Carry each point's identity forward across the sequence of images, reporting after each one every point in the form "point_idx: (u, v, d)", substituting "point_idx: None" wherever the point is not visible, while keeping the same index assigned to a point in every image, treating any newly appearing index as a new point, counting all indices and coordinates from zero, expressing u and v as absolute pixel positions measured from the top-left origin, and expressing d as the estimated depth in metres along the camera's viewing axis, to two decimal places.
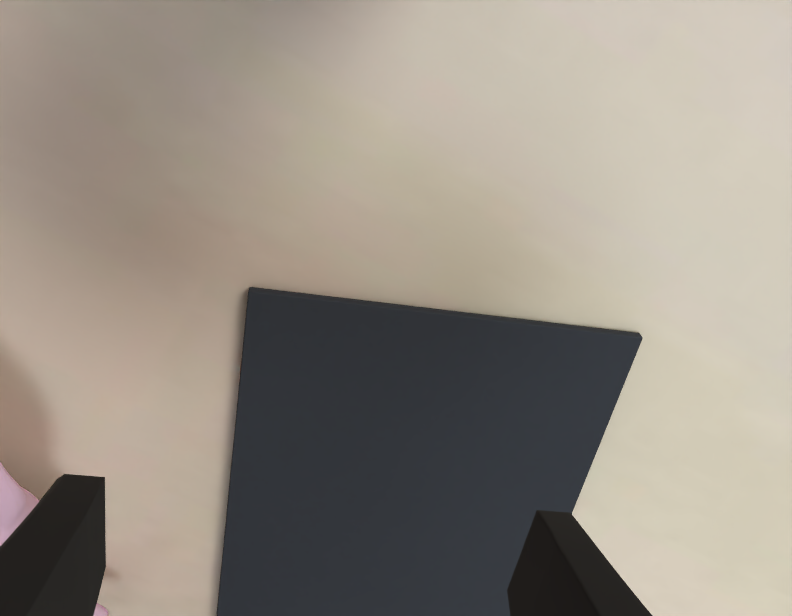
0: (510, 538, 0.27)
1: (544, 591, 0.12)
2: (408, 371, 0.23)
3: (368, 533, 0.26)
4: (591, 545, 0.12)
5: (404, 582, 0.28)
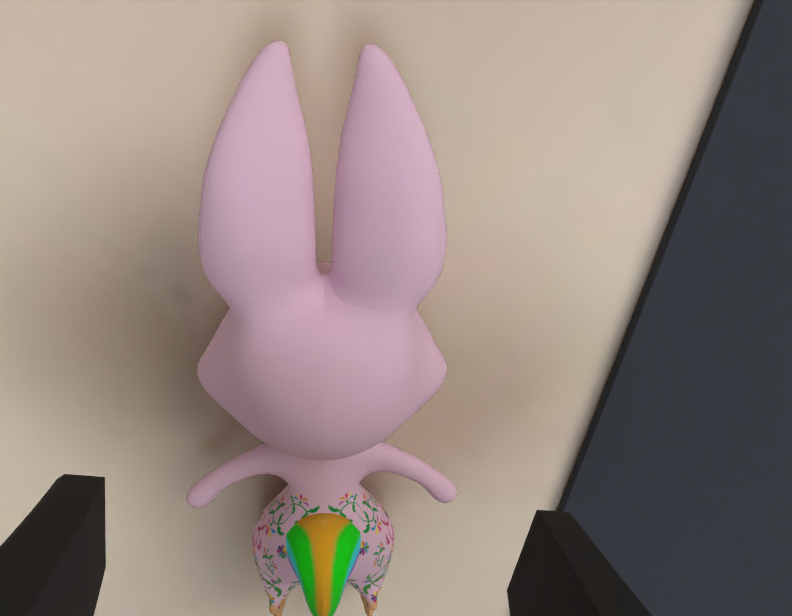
0: None
1: (544, 591, 0.12)
2: None
3: None
4: (590, 545, 0.12)
5: None
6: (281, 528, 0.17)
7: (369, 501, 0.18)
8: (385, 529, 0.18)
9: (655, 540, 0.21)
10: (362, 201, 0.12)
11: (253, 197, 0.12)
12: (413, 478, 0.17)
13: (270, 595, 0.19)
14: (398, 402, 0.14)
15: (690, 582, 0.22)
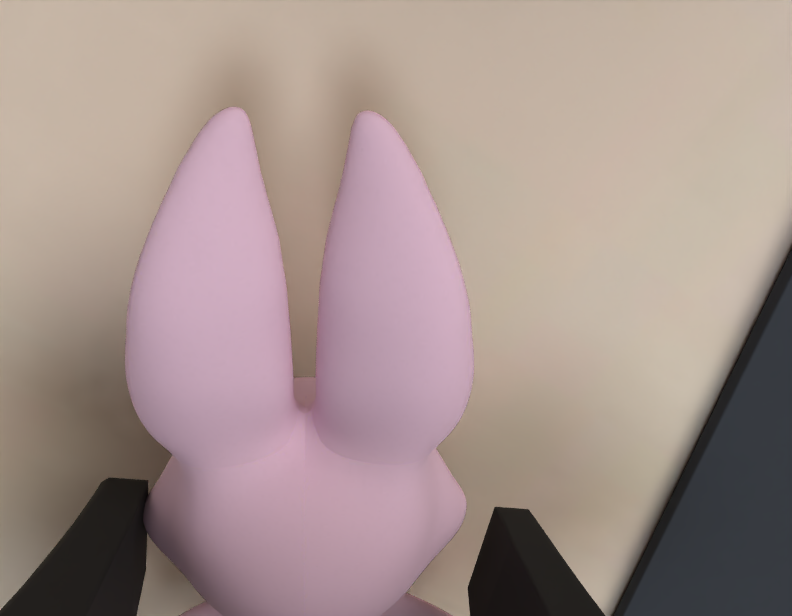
0: None
1: (499, 589, 0.12)
2: None
3: None
4: (546, 542, 0.12)
5: None
6: None
7: None
8: None
9: None
10: (357, 329, 0.08)
11: (200, 329, 0.08)
12: None
13: None
14: (404, 573, 0.10)
15: None
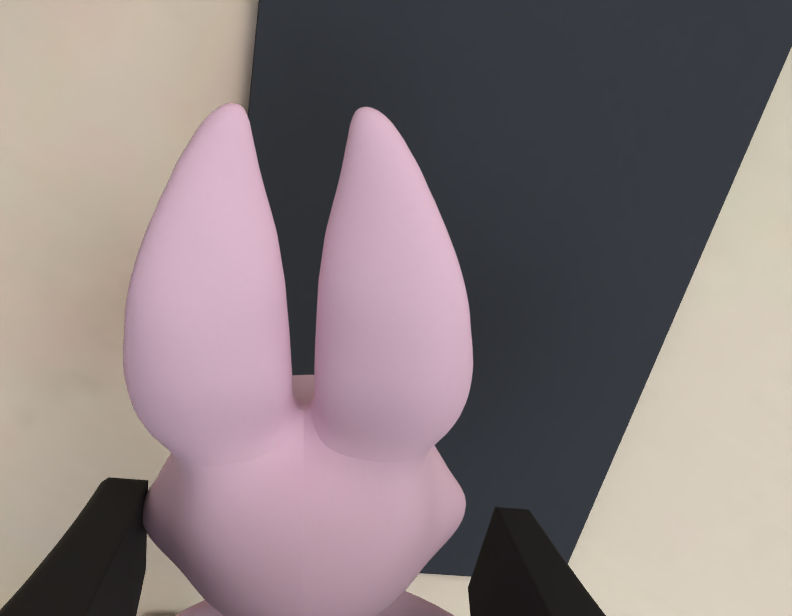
0: (613, 299, 0.20)
1: (500, 588, 0.12)
2: (498, 0, 0.16)
3: None
4: (546, 542, 0.12)
5: None
6: None
7: None
8: None
9: None
10: (355, 327, 0.08)
11: (198, 326, 0.08)
12: None
13: None
14: (403, 571, 0.10)
15: None
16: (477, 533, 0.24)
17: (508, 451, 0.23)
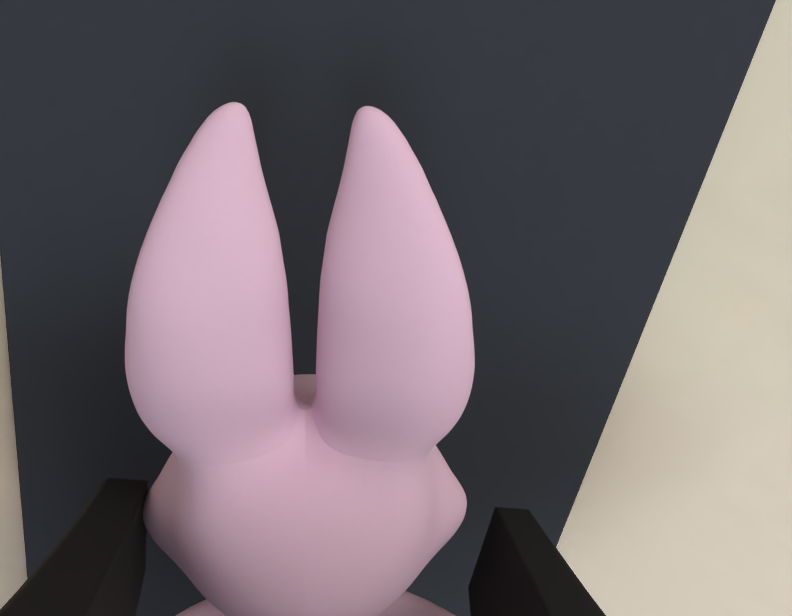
0: (527, 394, 0.16)
1: (500, 588, 0.12)
2: (328, 5, 0.11)
3: None
4: (546, 542, 0.12)
5: None
6: None
7: None
8: None
9: (165, 571, 0.17)
10: (357, 326, 0.08)
11: (200, 325, 0.08)
12: None
13: None
14: (405, 571, 0.10)
15: None
16: None
17: None
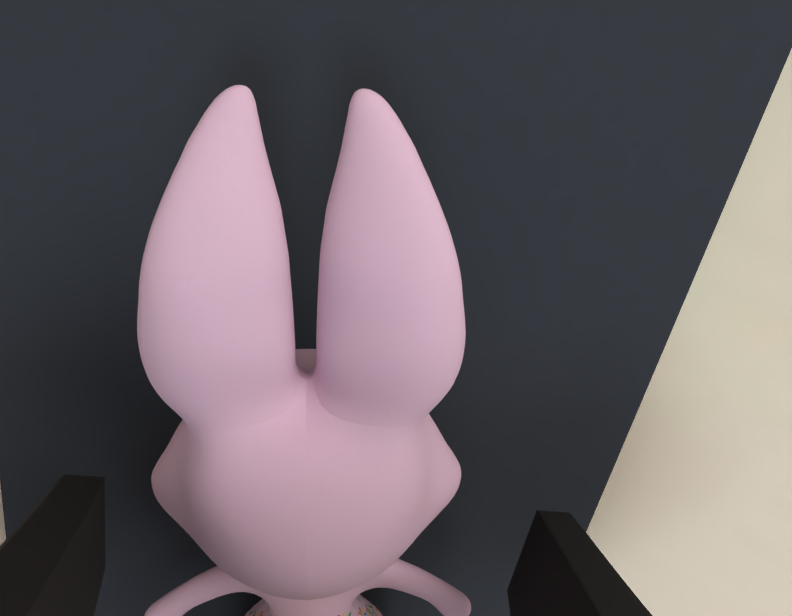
0: (539, 421, 0.15)
1: (544, 591, 0.12)
2: (328, 14, 0.11)
3: None
4: (591, 545, 0.12)
5: None
6: None
7: None
8: None
9: None
10: (354, 295, 0.09)
11: (207, 294, 0.09)
12: (419, 596, 0.14)
13: None
14: (400, 533, 0.11)
15: None
16: None
17: (411, 606, 0.17)
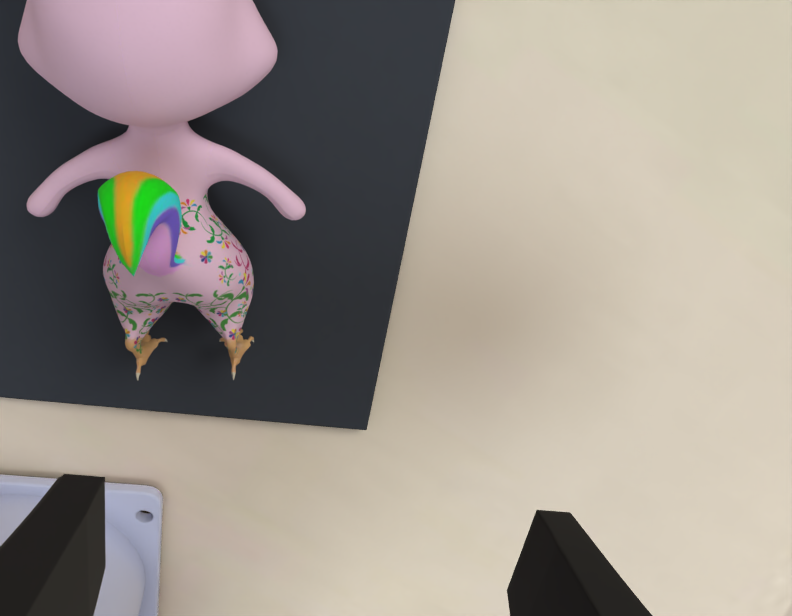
0: (362, 52, 0.18)
1: (544, 591, 0.12)
2: None
3: None
4: (591, 545, 0.12)
5: None
6: None
7: (220, 224, 0.18)
8: (235, 251, 0.18)
9: (52, 241, 0.19)
10: None
11: None
12: (256, 186, 0.17)
13: (125, 329, 0.19)
14: (204, 42, 0.14)
15: None
16: (258, 364, 0.22)
17: (273, 256, 0.20)
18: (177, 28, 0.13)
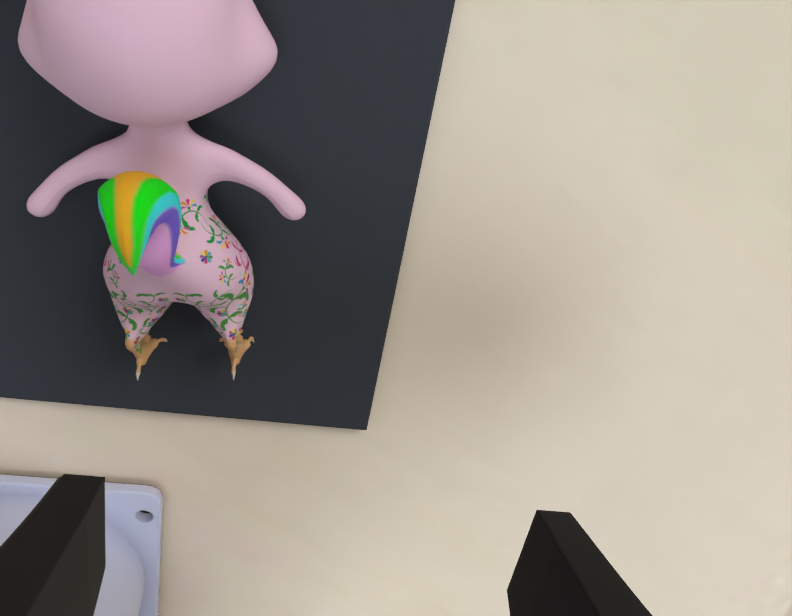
0: (362, 52, 0.18)
1: (544, 591, 0.12)
2: None
3: None
4: (590, 545, 0.12)
5: None
6: None
7: (220, 224, 0.18)
8: (235, 251, 0.18)
9: (52, 241, 0.19)
10: None
11: None
12: (256, 186, 0.17)
13: (125, 329, 0.19)
14: (204, 42, 0.14)
15: None
16: (258, 364, 0.22)
17: (273, 256, 0.20)
18: (177, 28, 0.13)
